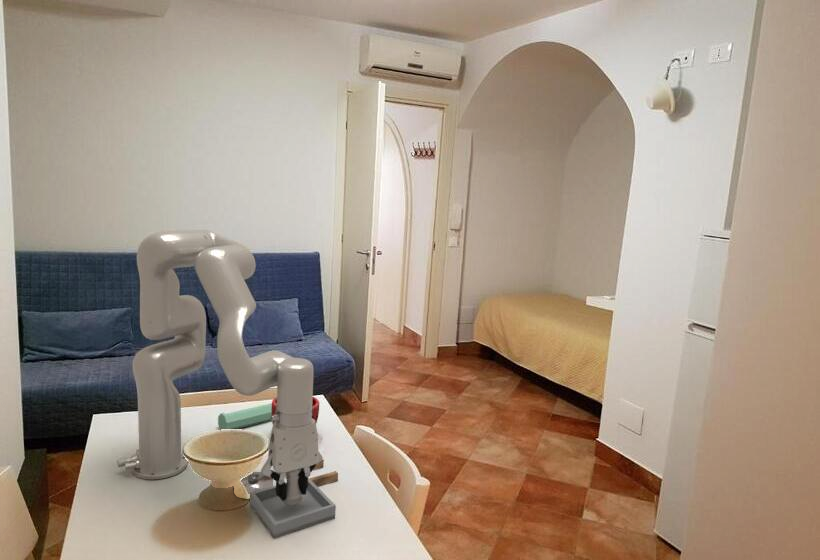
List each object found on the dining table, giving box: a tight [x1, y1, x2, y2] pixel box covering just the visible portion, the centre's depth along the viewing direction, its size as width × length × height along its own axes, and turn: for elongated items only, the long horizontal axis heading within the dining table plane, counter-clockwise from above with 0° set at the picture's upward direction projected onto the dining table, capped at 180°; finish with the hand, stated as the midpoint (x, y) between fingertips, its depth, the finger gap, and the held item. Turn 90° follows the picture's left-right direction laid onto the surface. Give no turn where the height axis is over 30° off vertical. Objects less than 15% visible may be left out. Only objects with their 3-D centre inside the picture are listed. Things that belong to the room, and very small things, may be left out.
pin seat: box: [285, 458, 339, 488], centre depth 136 cm, size 10×9×2 cm
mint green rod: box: [217, 402, 272, 431], centre depth 167 cm, size 6×6×25 cm
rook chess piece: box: [282, 469, 302, 505], centre depth 121 cm, size 4×4×8 cm
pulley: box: [241, 471, 274, 494], centre depth 130 cm, size 9×9×3 cm
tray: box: [249, 477, 336, 539], centre depth 122 cm, size 14×14×3 cm
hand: (291, 493), depth 121 cm, fingers closed on rook chess piece, 4 cm apart
